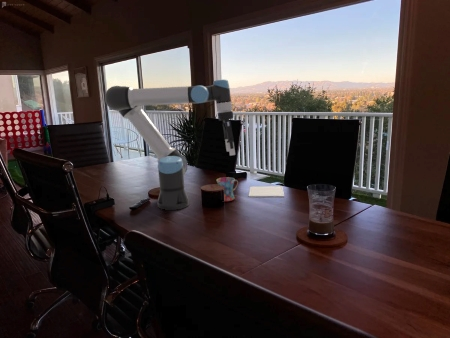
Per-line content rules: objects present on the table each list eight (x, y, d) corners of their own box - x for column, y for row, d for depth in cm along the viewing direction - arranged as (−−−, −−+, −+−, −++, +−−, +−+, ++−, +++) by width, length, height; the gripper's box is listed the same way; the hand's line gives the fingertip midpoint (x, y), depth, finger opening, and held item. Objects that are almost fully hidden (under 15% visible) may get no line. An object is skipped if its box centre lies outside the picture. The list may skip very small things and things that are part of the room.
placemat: (284, 196, 163) (284, 195, 163) (248, 196, 165) (248, 195, 165) (282, 187, 180) (282, 186, 180) (250, 187, 183) (250, 186, 183)
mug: (223, 203, 156) (222, 182, 153) (213, 199, 164) (213, 179, 161) (243, 199, 162) (243, 178, 159) (233, 195, 170) (233, 175, 167)
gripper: (235, 110, 148) (241, 155, 152) (229, 110, 172) (234, 148, 177) (219, 113, 147) (226, 158, 152) (215, 112, 172) (221, 150, 176)
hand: (230, 153), depth 164 cm, fingers open, 13 cm apart
